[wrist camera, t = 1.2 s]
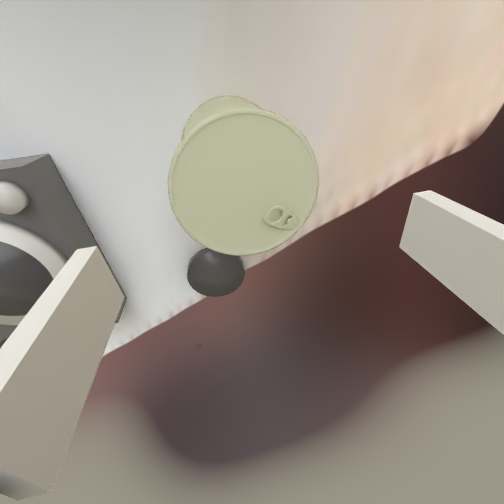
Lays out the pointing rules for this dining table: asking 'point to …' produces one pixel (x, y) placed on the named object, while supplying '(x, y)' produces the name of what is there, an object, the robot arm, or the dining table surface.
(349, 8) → the dining table surface
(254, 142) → the can
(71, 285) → the robot arm
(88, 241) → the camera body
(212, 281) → the lens cap
